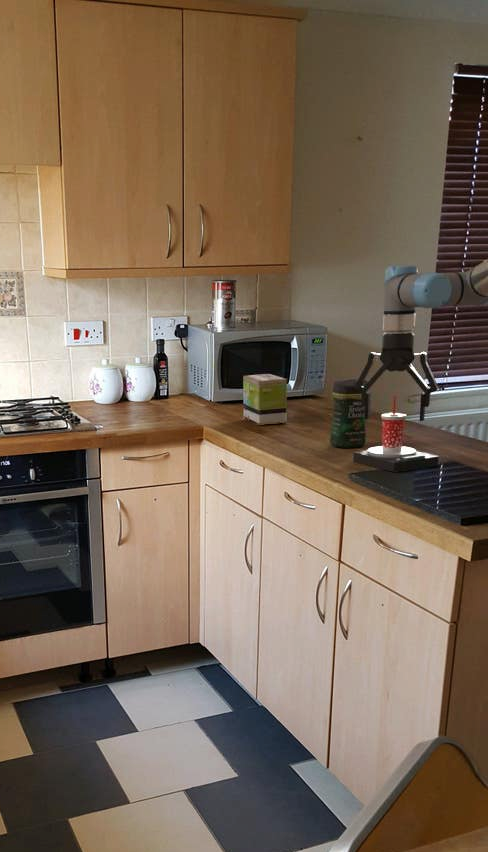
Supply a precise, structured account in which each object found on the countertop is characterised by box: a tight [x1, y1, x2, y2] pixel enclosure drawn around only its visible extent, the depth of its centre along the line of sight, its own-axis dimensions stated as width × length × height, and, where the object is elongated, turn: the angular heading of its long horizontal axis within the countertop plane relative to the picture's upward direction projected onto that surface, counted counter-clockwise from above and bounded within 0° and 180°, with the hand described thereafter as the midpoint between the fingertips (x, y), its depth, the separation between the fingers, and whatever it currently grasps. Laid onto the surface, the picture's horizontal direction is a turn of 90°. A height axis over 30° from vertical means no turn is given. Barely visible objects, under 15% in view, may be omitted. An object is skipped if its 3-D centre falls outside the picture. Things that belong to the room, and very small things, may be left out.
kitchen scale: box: [352, 445, 440, 473], centre depth 223 cm, size 16×14×3 cm
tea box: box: [242, 373, 288, 423], centre depth 288 cm, size 15×10×15 cm, turn 15°
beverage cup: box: [380, 394, 407, 452], centre depth 221 cm, size 6×6×14 cm
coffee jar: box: [329, 378, 369, 449], centre depth 244 cm, size 10×8×19 cm
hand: (394, 419), depth 221 cm, fingers open, 13 cm apart
